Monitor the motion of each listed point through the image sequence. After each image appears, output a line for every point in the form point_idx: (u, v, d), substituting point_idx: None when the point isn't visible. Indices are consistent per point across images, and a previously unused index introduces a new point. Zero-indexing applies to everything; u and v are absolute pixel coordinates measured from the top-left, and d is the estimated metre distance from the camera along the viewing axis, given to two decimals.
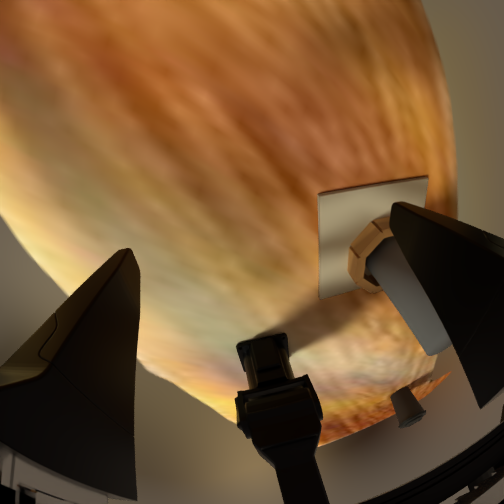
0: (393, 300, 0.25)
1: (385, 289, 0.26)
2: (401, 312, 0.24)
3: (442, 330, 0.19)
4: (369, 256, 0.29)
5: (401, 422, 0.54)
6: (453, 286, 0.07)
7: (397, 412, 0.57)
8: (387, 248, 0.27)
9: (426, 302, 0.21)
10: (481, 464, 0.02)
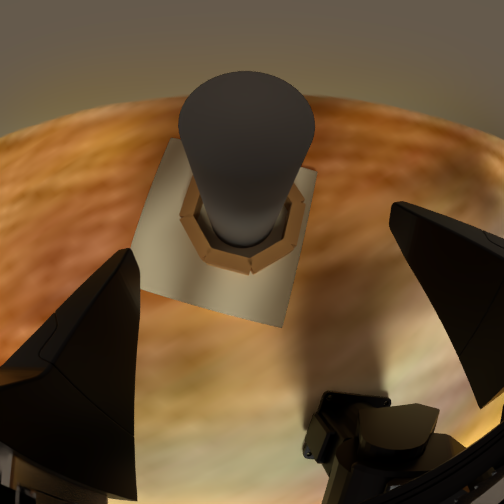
0: (240, 225, 0.16)
1: (240, 232, 0.17)
2: (242, 217, 0.14)
3: (190, 141, 0.10)
4: (224, 239, 0.21)
5: None
6: (453, 286, 0.07)
7: None
8: None
9: (192, 172, 0.12)
10: (481, 464, 0.02)
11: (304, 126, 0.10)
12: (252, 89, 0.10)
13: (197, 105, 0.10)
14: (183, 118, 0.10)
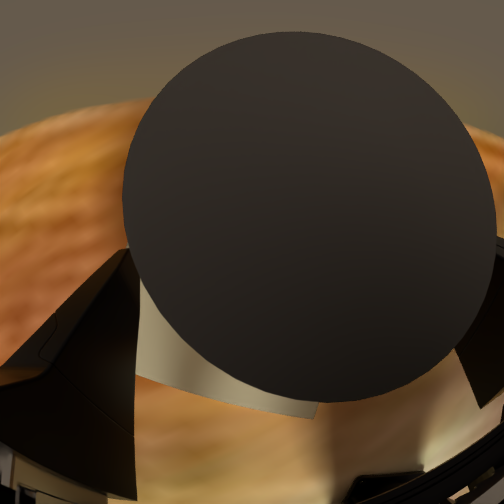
0: None
1: None
2: None
3: (163, 263, 0.03)
4: None
5: None
6: None
7: None
8: None
9: None
10: (481, 464, 0.02)
11: (480, 209, 0.03)
12: (347, 80, 0.03)
13: (186, 121, 0.03)
14: (139, 167, 0.03)
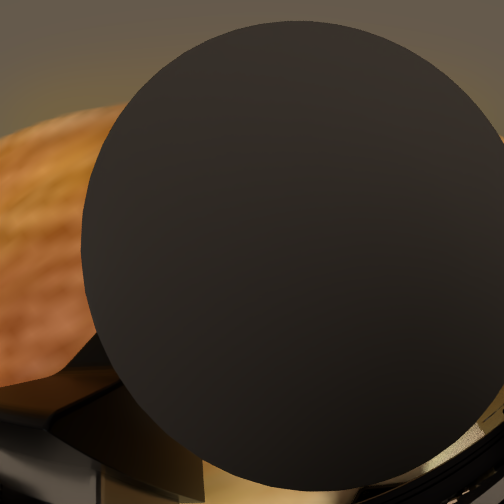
0: None
1: None
2: None
3: (136, 344, 0.02)
4: None
5: None
6: None
7: None
8: None
9: None
10: (481, 464, 0.02)
11: None
12: (375, 84, 0.02)
13: (161, 142, 0.02)
14: (101, 209, 0.02)
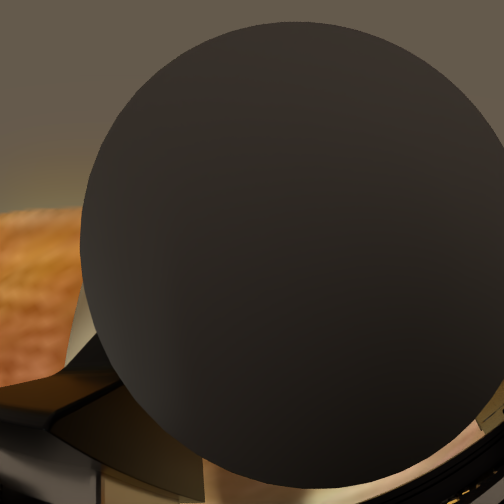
0: None
1: None
2: None
3: (133, 340, 0.02)
4: None
5: None
6: None
7: None
8: None
9: None
10: (481, 464, 0.02)
11: None
12: (370, 84, 0.03)
13: (159, 142, 0.02)
14: (100, 208, 0.02)
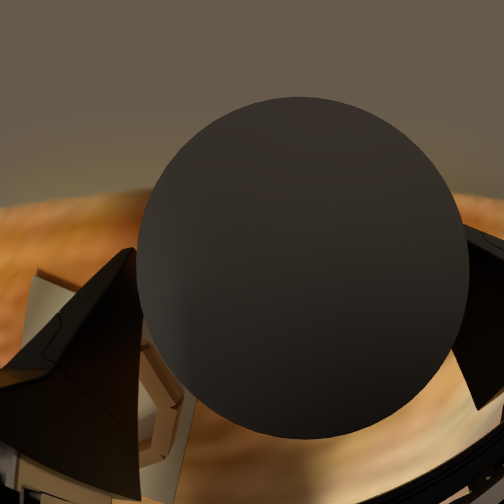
0: None
1: None
2: None
3: (176, 340, 0.03)
4: None
5: None
6: None
7: None
8: None
9: None
10: (481, 464, 0.02)
11: (453, 275, 0.04)
12: (337, 157, 0.04)
13: (187, 210, 0.04)
14: (149, 255, 0.04)
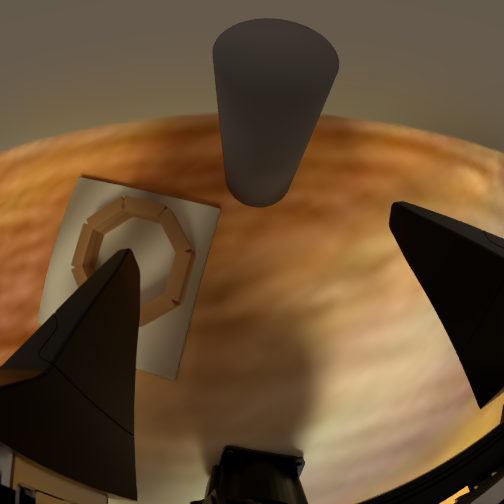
0: (262, 168, 0.15)
1: (261, 180, 0.17)
2: (266, 154, 0.14)
3: (225, 65, 0.09)
4: (240, 196, 0.21)
5: None
6: (453, 286, 0.07)
7: None
8: None
9: (219, 107, 0.12)
10: (481, 464, 0.02)
11: (329, 60, 0.09)
12: (280, 31, 0.10)
13: (230, 40, 0.09)
14: (217, 49, 0.09)
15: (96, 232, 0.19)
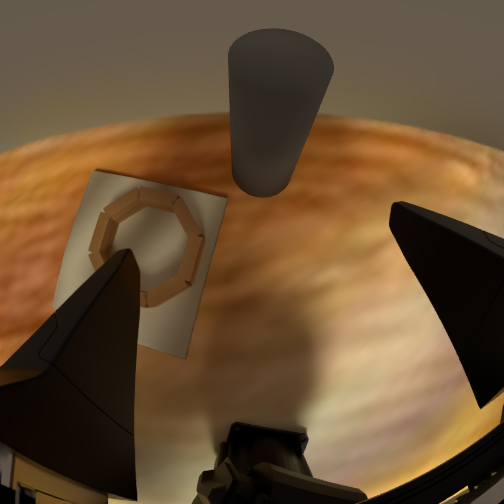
0: (268, 158, 0.17)
1: (266, 170, 0.19)
2: (272, 145, 0.15)
3: (239, 68, 0.11)
4: (246, 187, 0.22)
5: None
6: (453, 286, 0.07)
7: None
8: (232, 161, 0.21)
9: (231, 104, 0.14)
10: (481, 464, 0.02)
11: (326, 65, 0.11)
12: (284, 40, 0.12)
13: (242, 47, 0.11)
14: (231, 54, 0.11)
15: (112, 220, 0.21)
